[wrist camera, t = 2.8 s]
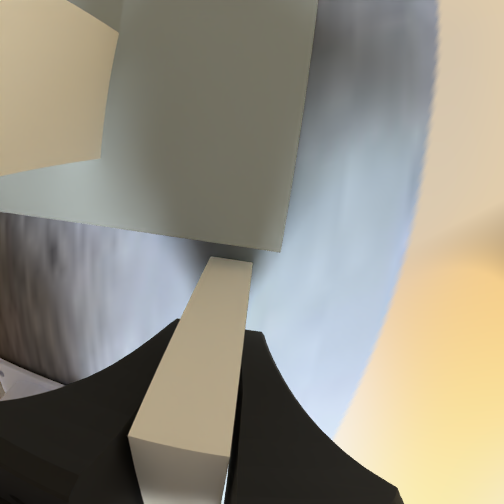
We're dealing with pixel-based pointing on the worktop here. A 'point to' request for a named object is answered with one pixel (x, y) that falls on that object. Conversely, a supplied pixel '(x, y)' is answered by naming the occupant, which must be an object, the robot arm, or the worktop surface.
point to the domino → (52, 83)
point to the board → (189, 124)
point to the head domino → (195, 394)
